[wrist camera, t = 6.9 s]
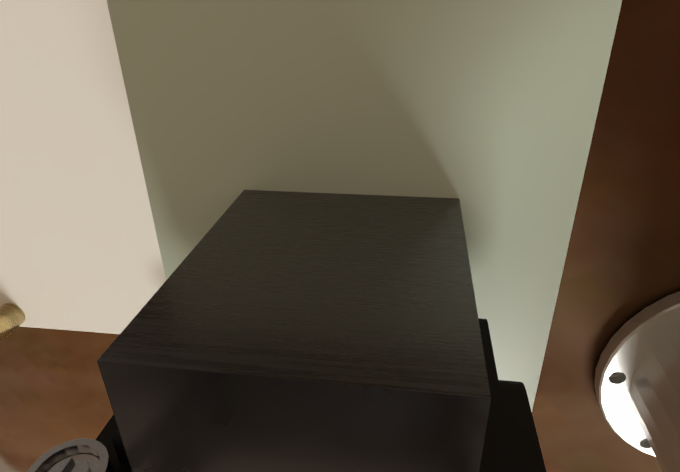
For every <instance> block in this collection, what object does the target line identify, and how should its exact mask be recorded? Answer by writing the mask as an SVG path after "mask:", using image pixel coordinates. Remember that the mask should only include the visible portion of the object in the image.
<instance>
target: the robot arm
mask: <svg viewBox="0 0 680 472" xmlns="http://www.w3.org/2000/svg"><path fill="white" fill-rule="evenodd" d="M478 319H479V326H480V332H481V338H482V345H483V351H484V357H485V364H486V370H487V376H488V382H489V389H490V395H491V402H490V408H489V414H488V420H487V427H486V433H485V439H484V445H483V451H482V457H481V463H480V469H479V472H546V469H545V465H544V461H543V457H542V453H541V449H540V445H539V441H538V437H537V433H536V429H535V425H534V420H533V416H532V412H531V408H530V404H529V400H528V396H527V392H526V389H525V386H524V384H523V382H517V381H506V380H498V375H497V370H496V364H495V359H494V353H493V348H492V342H491V337H490V331H489V326H488V321H487V319H481V318H478ZM594 387H595V392H596V397H597V401H598V404H599V406H600V408H601V411H602V413H603V416H604V418H605V419H606V421H607V422H608V424H609V425H610V427H611V428H612V430H613V431H614V432H615V433H616V434H617V435H618V436H619V437H621V438H622V439H623V440H624V441H625V442H626V443H628V444H629V445H631V446H633V447H634V448H636V449H637V450H639V451H642V452H644V453H647V454H649V455H652V456H654V457H656V458H657V460H658V462H659V464H660V466H661V468H662V470H663V472H680V291H679V292H676V293H673V294H671V295H668V296H666V297H664V298H662V299H661V300H659V301H657V302H655V303H653V304H651V305H649V306H648V307H646V308H644V309H643V310H642V311H640V312H639V313H638V314H636V315H635V316H634V317H632V318H631V319H630V320H628V321H627V322H626V323H625V324H624V325H623V326H622V327H621V328H620V329H619V330H618V331H617V332H616V333H615V334H614V335H613V336H612V338H611V339H610V341H609V342H608V344H607V345H606V347H605V349H604V350H603V352H602V353H601V356H600V359H599V361H598V364H597V367H596V371H595V382H594ZM28 472H132V469H131V466H130V463H129V460H128V457H127V454H126V450H125V447H124V444H123V441H122V438H121V435H120V432H119V428H118V425H117V422H116V419H115V416H114V415H113V416H112V418H111V419H110V420H109V422H108V423H107V425H106V426H105V427H104V429H103V430H102V432H101V433H100V434H99V436H98V437H97V439H96V440H93V439H76V440H71V441H67V442H65V443H62V444H60V445H58V446H56V447H54V448H52V449H51V450H49V451H48V452H46V453H45V454H43V455H42V456H41V457H40V458H39V459H38V460H37V461H35V462H34V463H33V464H32V466H31V467H30V469H29V470H28Z"/></svg>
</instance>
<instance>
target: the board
mask: <svg viewBox="0 0 680 472" xmlns="http://www.w3.org/2000/svg"><path fill="white" fill-rule="evenodd" d="M621 4H622V0H107V5H108V9H109V14H110V19H111V24H112V28H113V33H114V38H115V42H116V47H117V52H118V56H119V61H120V66H121V71H122V75H123V80H124V85H125V89H126V94H127V99H128V103H129V108H130V113H131V117H132V122H133V127H134V132H135V136H136V141H137V146H138V150H139V155H140V160H141V164H142V169H143V174H144V179H145V183H146V188H147V193H148V197H149V202H150V207H151V211H152V216H153V221H154V226H155V230H156V235H157V240H158V244H159V249H160V254H161V258H162V263H163V268H164V273H165V277H166V281H165V282H164V284H163V285H162V286H161V287H160V288H159V289H158V291H157V292H156V293H155V294H154V295H153V296H152V298H151V299H150V300H149V301H148V302H147V303H146V305H145V306H144V307H143V308H142V309H141V310H140V312H139V313H138V314H137V315H136V316H135V317H134V319H133V320H132V321H131V322H130V323H129V324H128V326H127V327H126V328H125V329H124V330H123V331H122V332H121V334H120V335H119V336H118V337H117V338H116V339H115V341H114V342H113V343H112V344H111V345H110V346H109V348H108V349H107V350H106V351H105V352H104V353H103V355H102V356H101V357H100V358H99V359H98V360H97V362H98V365H99V368H100V371H101V375H102V378H103V381H104V384H105V387H106V390H107V394H108V397H109V400H110V403H111V406H112V409H113V413H114V416H115V419H116V422H117V425H118V428H119V432H120V435H121V438H122V441H123V444H124V447H125V450H126V454H127V457H128V460H129V463H130V466H131V469H132V472H479V469H480V463H481V457H482V451H483V445H484V439H485V433H486V427H487V420H488V414H489V408H490V402H491V395H490V389H489V382H488V376H487V370H486V364H485V357H484V351H483V345H482V338H481V332H480V326H479V319H478V318H481V319H487V321H488V326H489V331H490V337H491V342H492V348H493V353H494V359H495V364H496V370H497V375H498V380H506V381H517V382H523V384H524V386H525V389H526V392H527V396H528V400H529V404H530V408H531V412H532V409H533V404H534V400H535V395H536V391H537V386H538V382H539V377H540V373H541V368H542V363H543V359H544V354H545V350H546V345H547V341H548V336H549V332H550V327H551V322H552V318H553V313H554V309H555V304H556V300H557V295H558V291H559V286H560V281H561V277H562V272H563V268H564V263H565V259H566V254H567V250H568V245H569V240H570V236H571V231H572V227H573V222H574V218H575V213H576V209H577V204H578V200H579V195H580V190H581V186H582V181H583V177H584V172H585V168H586V163H587V159H588V154H589V149H590V145H591V140H592V136H593V131H594V127H595V122H596V118H597V113H598V108H599V104H600V99H601V95H602V90H603V86H604V81H605V77H606V72H607V67H608V63H609V58H610V54H611V49H612V45H613V40H614V36H615V31H616V26H617V22H618V17H619V13H620V8H621Z"/></svg>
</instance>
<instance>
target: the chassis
mask: <svg viewBox="0 0 680 472" xmlns="http://www.w3.org/2000/svg"><path fill="white" fill-rule="evenodd" d="M165 281H166V277H165V273H164V268H163V263H162V258H161V254H160V249H159V244H158V240H157V235H156V230H155V226H154V221H153V216H152V211H151V207H150V202H149V197H148V193H147V188H146V183H145V179H144V174H143V169H142V164H141V160H140V155H139V150H138V146H137V141H136V136H135V132H134V127H133V122H132V117H131V113H130V108H129V103H128V99H127V94H126V89H125V85H124V80H123V75H122V71H121V66H120V61H119V56H118V52H117V47H116V42H115V38H114V33H113V28H112V24H111V19H110V14H109V9H108V5H107V0H0V343H1V342H2V341H3V340H4V339H5V338H6V337H7V336H8V335H10V334H11V333H12V332H13V331H14V330H15V329H16V328H18V327H19V326H22V327H35V328H47V329H60V330H73V331H86V332H99V333H112V334H121V332H122V331H123V330H124V329H125V328H126V327H127V326H128V324H129V323H130V322H131V321H132V320H133V319H134V317H135V316H136V315H137V314H138V313H139V312H140V310H141V309H142V308H143V307H144V306H145V305H146V303H147V302H148V301H149V300H150V299H151V298H152V296H153V295H154V294H155V293H156V292H157V291H158V289H159V288H160V287H161V286H162V285H163V284H164V282H165Z"/></svg>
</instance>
